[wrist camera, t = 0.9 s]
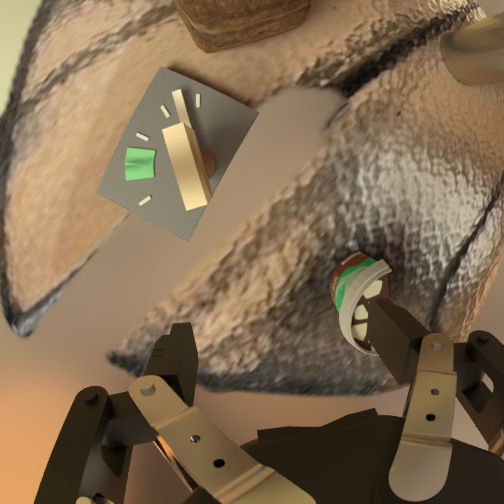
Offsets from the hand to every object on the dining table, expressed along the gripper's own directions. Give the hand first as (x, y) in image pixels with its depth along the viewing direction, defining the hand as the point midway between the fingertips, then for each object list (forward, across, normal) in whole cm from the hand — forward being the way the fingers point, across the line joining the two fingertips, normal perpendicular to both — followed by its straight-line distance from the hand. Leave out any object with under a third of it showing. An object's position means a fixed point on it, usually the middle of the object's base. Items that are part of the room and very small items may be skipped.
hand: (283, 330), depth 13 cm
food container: (+25, -12, +10) cm, 29 cm away
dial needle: (+23, +6, -10) cm, 25 cm away
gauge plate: (+24, +8, -9) cm, 27 cm away
